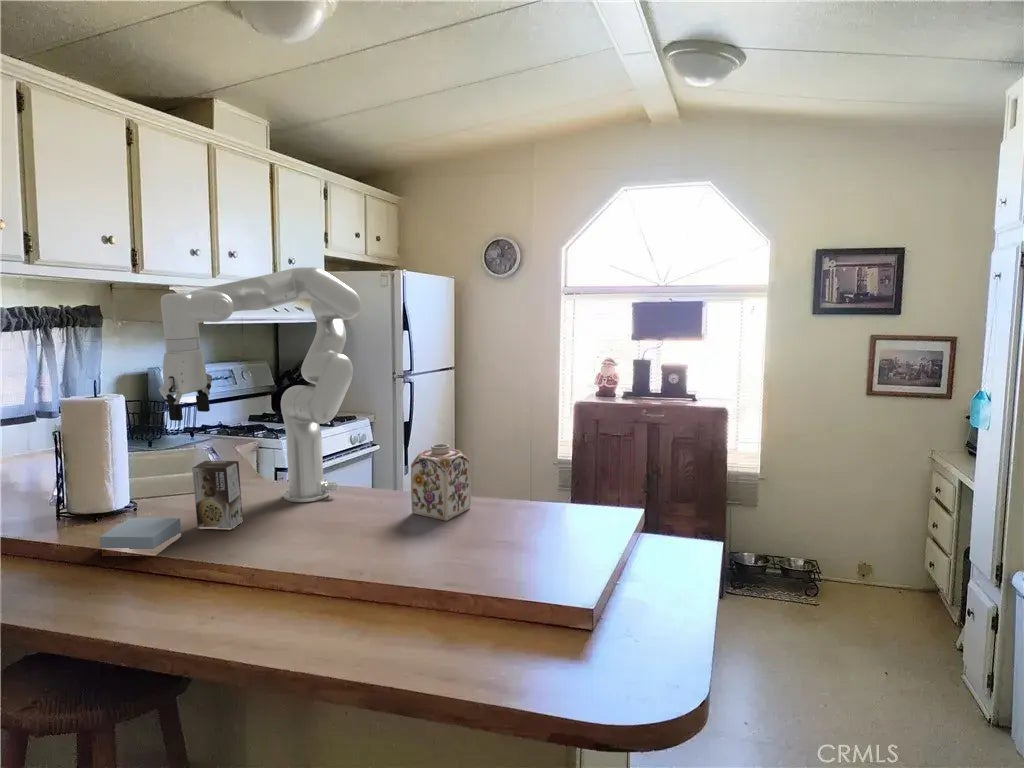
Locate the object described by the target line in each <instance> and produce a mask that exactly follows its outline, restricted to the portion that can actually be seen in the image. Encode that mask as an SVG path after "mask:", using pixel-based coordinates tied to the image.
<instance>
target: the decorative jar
mask: <svg viewBox="0 0 1024 768" xmlns="http://www.w3.org/2000/svg"><path fill="white" fill-rule="evenodd" d="M471 488H472V487H471V461H470V459H469V458H468V456H466V454H464V453H463V452H462V451H461V450H459V449H455V448H450V445H449V444H446V443H437V444H433V445H431V447H430V449H426V450H423V451H419V453H418V454H417V456H416V457H415V458H414V460H413V461H412V462H411V463H410V500H411V513H412V514H414V515H417V516H422V517H427V518H432V519H436V520H440V521H446V522H447V521H449V520H451V519H453V518H455V517H457V516H460V515H461V514H462V513H464V512H466V511H468V510H469V509H471V506H472V505H471V503H472V500H471V498H472V495H471V492H472V491H471V490H472V489H471Z"/></svg>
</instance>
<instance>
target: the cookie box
mask: <svg viewBox="0 0 1024 768" xmlns="http://www.w3.org/2000/svg"><path fill="white" fill-rule="evenodd" d="M239 463H240V462H239V460H204V461H202V462H200V463H198V464H197V465H194V466H193V467H192V468H191V469H192V482H193V491H194V501H195V503H194V504H195V513H196V523H197V524H196V525H197V526H196V527H197V528H198V527H218V528H233V527H234V526H236V525H238V524H240V523H241V524H243V523H244V518H243V505H242V504H243V503H242V489H241V478H240V476H241V475H240V466H239ZM242 522H243V523H242ZM241 524H240V525H241Z"/></svg>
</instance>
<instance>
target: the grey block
mask: <svg viewBox="0 0 1024 768" xmlns="http://www.w3.org/2000/svg"><path fill="white" fill-rule="evenodd" d="M179 533H181V534H182V526H181V518H179V517H175V518H174V517H166V518H165V517H129V518H128V519H126V520H125V521H123V522H122V523H120V524H118V525H117V526H115V527H114V528H111V529H110V530H108V531H106V533H103V534H102V535H100V536H99V543H100V545H99V546H100V549H101V548H129V549H154V548H156V547H157V546H159V545H161V544H162V543H164V542H165V541H167V540H169V539H170V538H172V537H174V536H176V535H177V534H179Z"/></svg>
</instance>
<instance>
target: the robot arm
mask: <svg viewBox="0 0 1024 768" xmlns="http://www.w3.org/2000/svg"><path fill="white" fill-rule="evenodd" d="M299 300H310V309H311V311H312V314H313V315H314V316H313V317H314V318H315V321H316V331H315V332H316V333H315V336H314V339H313V341H312V343H311V345H310V347H309V350H308V352H307V354H306V356H305V358H304V359H303V362H302V364H301V368H300V370H301V371H300V373H301V376H302V379H304V380H305V381H306V382H307V383H310V384H313V385H315V387H314V386H308V385H301V384H299V385H298V384H297V385H292V386H291V387H289V388H287V389H286V390H285V391H284V392H283V394H282V395H281V400H280V410H281V415H282V419H283V423H284V430H285V440H286V441H285V442H286V445H285V446H286V457H287V458H286V459H287V462H286V464H287V477H288V489H286V490H285V491H284V492H283V499H284V500H285V501H287V502H291V503H292V502H293V503H309V502H315V501H320V500H323V499H325V498H327V497H328V496H330V493H331V491H332V492H336V491H337V492H338V491H339V484H338V483H337V482H336V481H335V482H329V481H327V477H325V476H324V465H323V464H324V463H323V445H322V444H323V443H322V440H323V439H322V430H321V425H322V424H327V423H328V422H331V421H332V420H333V419H334V418H335V417H336V415H337V413H338V412H339V410H340V407H342V406H341V405H342V403H343V401H344V399H345V397H346V394H347V391H348V390H349V387H350V385H351V383H352V380H353V375H354V366H353V364H352V363H353V362H352V361H351V358H349V357H348V356H346V355H345V354H343V351H344V348H345V345H346V342H347V330H346V326H345V323H344V322H345V321H348V320H353V319H355V318H356V317H358V315H359V314H360V312H361V309H362V300H361V298H360V296H359V294H358V293H357V292H356V291H355V290H354V289H352V288H351V287H350V286H349V285H347V284H345V283H344V282H343V281H341V280H340V279H338V278H336V277H335V276H333V275H332V274H331V273H329V272H328V271H326V270H324V269H321V268H319V267H314V266H313V267H310V266H309V267H304V266H303V267H293V268H289V269H285V270H281V271H280V270H279V271H276V272H273V273H268V274H263V275H259V276H255V277H250V278H249V277H248V278H245V279H240V280H236V281H232V282H227V283H221V284H216V285H213V286H208V287H204V288H203V287H202V288H200V289H199V288H198V289H196V290H193V291H190V292H189V293H187V292H181V293H180V292H178V293H176V292H175V293H166V294H163V295H161V298H160V308H161V316H162V317H161V319H162V324H163V325H162V326H163V327H162V328H163V335H164V347H165V352H164V354H163V361H162V363H163V364H162V376H163V377H162V378H163V379H162V380H163V382H162V385H161V386H159V388H158V391H159V392H160V395H161V398H162V400H164V402H165V404H166V405H167V408H168V417H169V420H170V421H177V422H178V421H182V420H184V419H183V418H184V417H183V407H182V403H180V401H181V399H182V396H184V395H188V394H191V393H196V395H195V401H196V410H197V412H201V413H202V412H205V413H207V412H210V409H211V407H210V397H209V395H210V394H211V392H210V390H211V388H212V383H213V376H212V375H211V374H209V373H207V370H206V364H205V360H204V355H203V351H202V348H201V347H202V346H201V340H200V328H199V323H201V322H202V323H205V322H208V323H221V322H223V321H226V320H228V319H229V318H230V317H231V316H232V315H233V313H234V312H241V311H243V312H244V311H247V312H248V311H262V310H267V309H268V310H269V309H271V308H274V307H277V306H281V305H285V304H288V303H293V302H296V301H299ZM174 396H175V397H174ZM320 424H321V425H320Z"/></svg>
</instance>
